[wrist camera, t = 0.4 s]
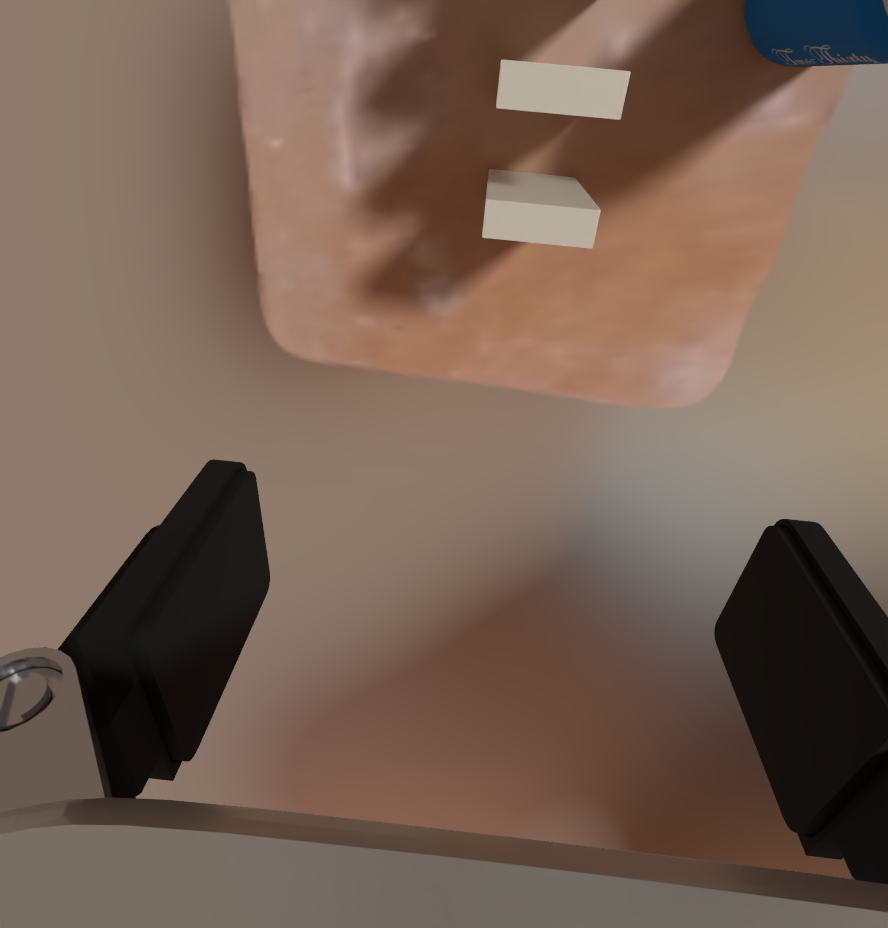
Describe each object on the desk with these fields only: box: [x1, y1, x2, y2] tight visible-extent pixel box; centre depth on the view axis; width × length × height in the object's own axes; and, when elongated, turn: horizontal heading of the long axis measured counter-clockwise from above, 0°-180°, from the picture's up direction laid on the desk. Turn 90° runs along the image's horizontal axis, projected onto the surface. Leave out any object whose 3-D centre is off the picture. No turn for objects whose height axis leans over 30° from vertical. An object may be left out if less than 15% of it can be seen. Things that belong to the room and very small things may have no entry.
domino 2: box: [482, 169, 601, 248], centre depth 29 cm, size 2×5×10 cm, turn 86°
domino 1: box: [496, 59, 631, 120], centre depth 26 cm, size 2×5×10 cm, turn 86°
